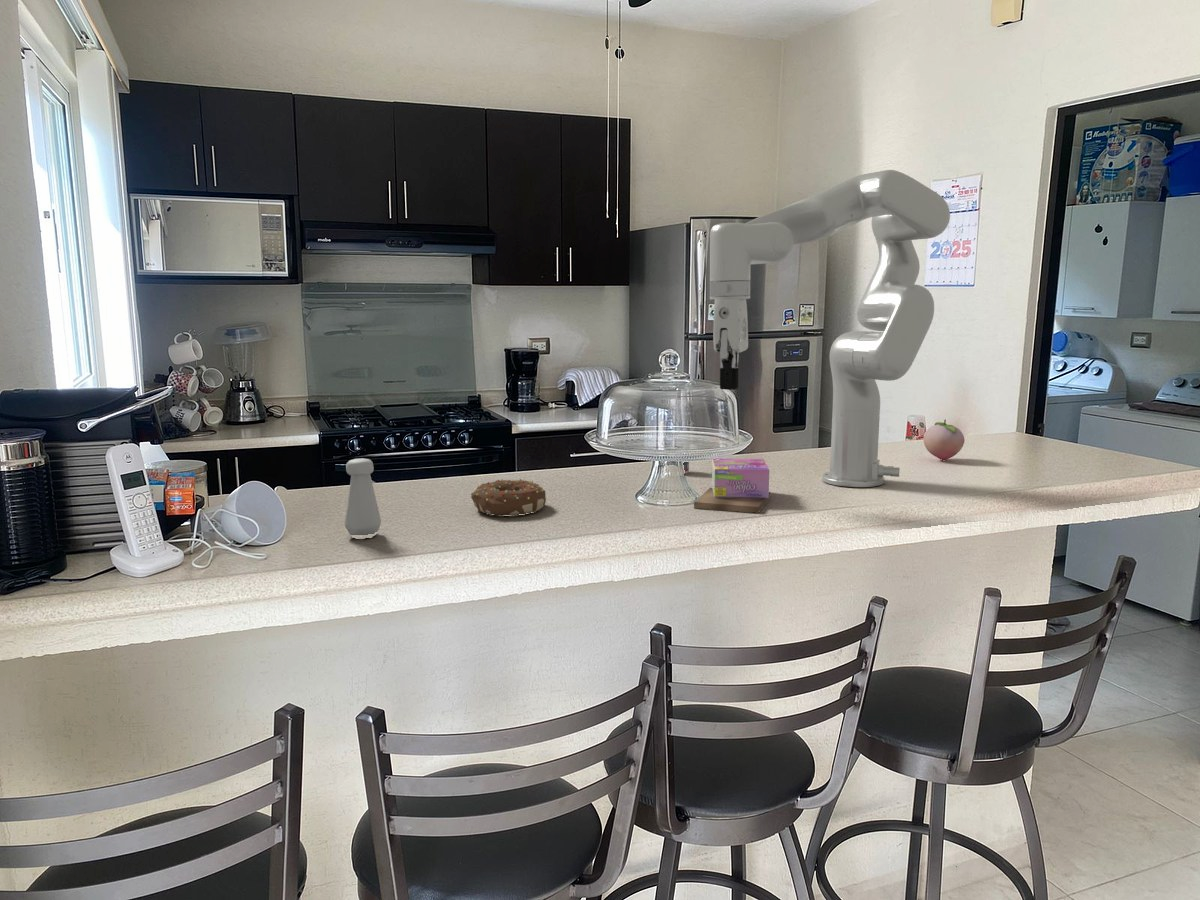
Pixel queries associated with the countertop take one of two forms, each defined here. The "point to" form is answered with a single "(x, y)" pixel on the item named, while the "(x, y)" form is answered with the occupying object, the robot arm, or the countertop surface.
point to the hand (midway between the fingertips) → (729, 388)
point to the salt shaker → (361, 499)
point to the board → (730, 503)
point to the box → (740, 478)
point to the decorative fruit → (943, 440)
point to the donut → (509, 497)
